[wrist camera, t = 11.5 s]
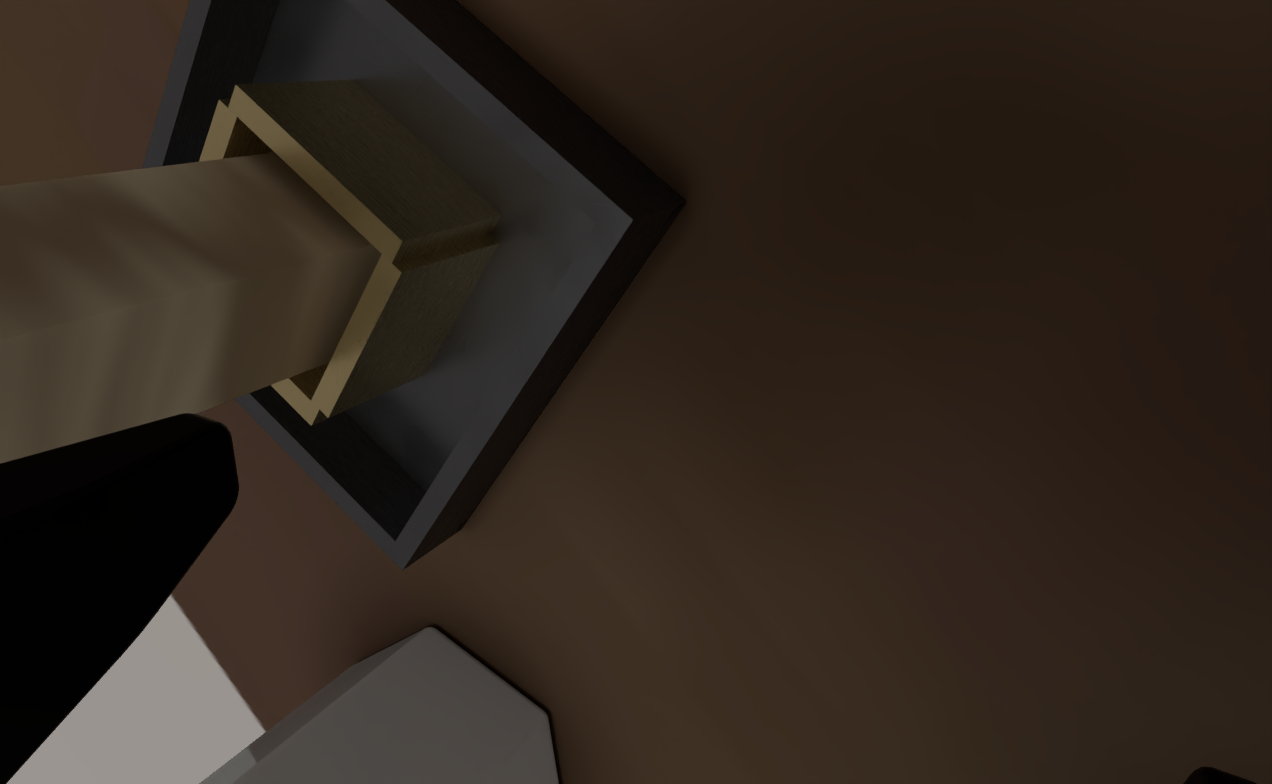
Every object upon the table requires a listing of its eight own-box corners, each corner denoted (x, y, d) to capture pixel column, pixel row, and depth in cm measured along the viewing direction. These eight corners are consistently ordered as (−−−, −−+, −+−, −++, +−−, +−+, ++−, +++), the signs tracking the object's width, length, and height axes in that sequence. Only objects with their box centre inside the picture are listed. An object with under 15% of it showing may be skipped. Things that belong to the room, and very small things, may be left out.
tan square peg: (454, 223, 23) (-177, 384, 12) (408, 332, 25) (-176, 556, 14) (353, 142, 23) (-330, 226, 13) (315, 253, 25) (-310, 410, 14)
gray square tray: (686, 201, 20) (594, 232, 17) (460, 529, 27) (362, 598, 23) (315, -122, 22) (167, -151, 19) (188, 257, 29) (60, 286, 25)
